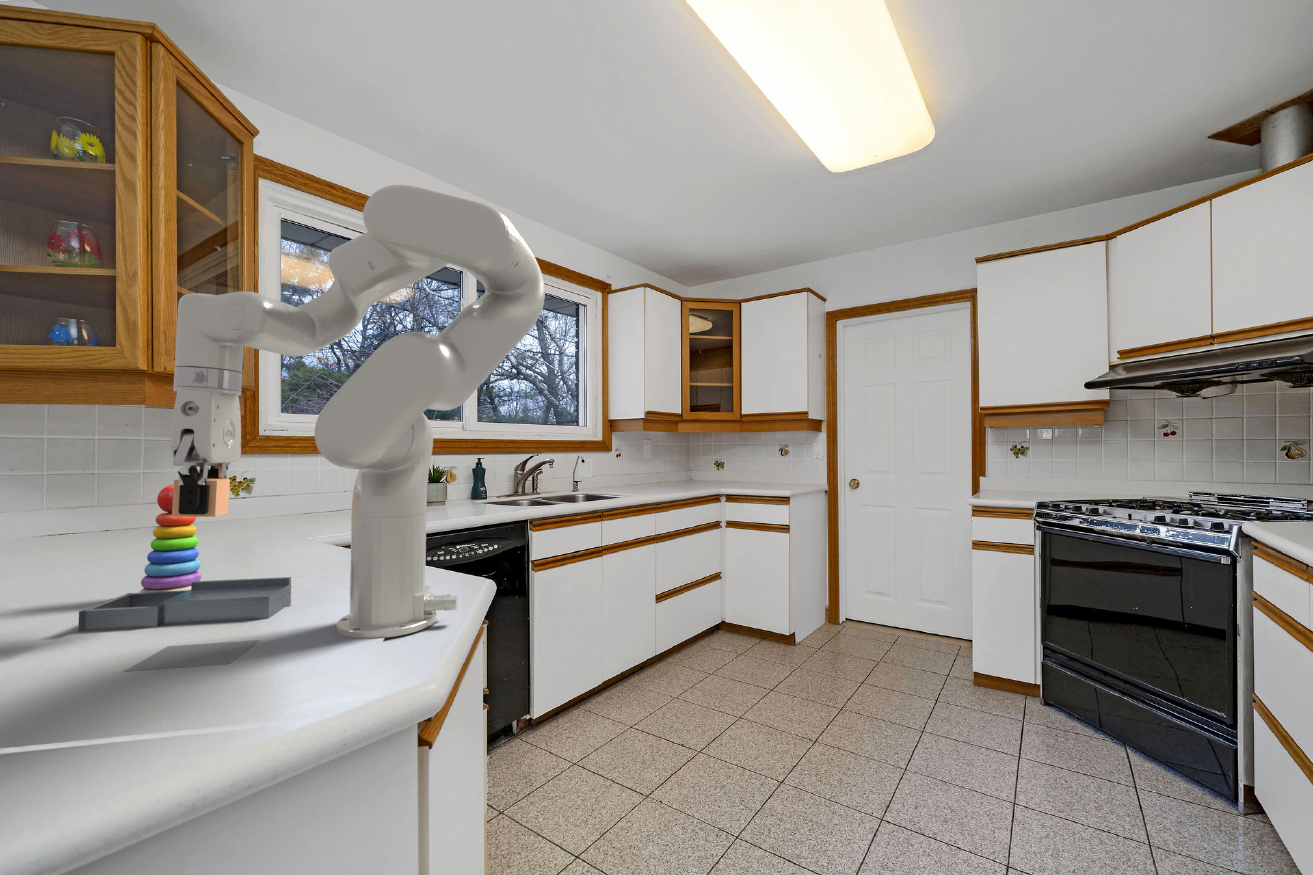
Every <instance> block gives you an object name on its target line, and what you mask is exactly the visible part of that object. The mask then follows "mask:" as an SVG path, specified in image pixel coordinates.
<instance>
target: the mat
mask: <svg viewBox="0 0 1313 875" xmlns="http://www.w3.org/2000/svg"><path fill="white" fill-rule="evenodd" d="M261 641H262V639H256V640H255V639H254V640H242V641H228V642H227V641H225V642H212V643H210V642H209V643H208V642H207V643H199V644H198V643H197V644H181V645H180V644H179V645H169V646H166V647H164V648H163V649H161V650H158V651H157V652H156V653H153V654H152V655H150V656H148V657H146V658H145V659H143V660H141V661H139V662H137V663H135V664H134V665H133V666H131V667H129V668H127V669H125V670H123V672H122V673H129V672H141V671H142V672H143V671H155V670H166V669H181V668H194V667H195V668H196V667H205V666H207V667H210V666H219V665H221V666H222V665H230V664H232V663H233V662H234V661H236V659H238V658H240V657H241V656H242V655H244V654H245V653H246V652H247V651H249V650H250V649H252V648H253V647H254V646H255V645H257V644H259V643H260V642H261Z"/></svg>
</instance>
